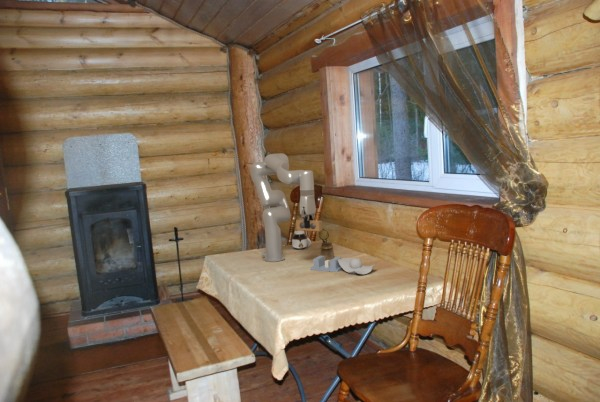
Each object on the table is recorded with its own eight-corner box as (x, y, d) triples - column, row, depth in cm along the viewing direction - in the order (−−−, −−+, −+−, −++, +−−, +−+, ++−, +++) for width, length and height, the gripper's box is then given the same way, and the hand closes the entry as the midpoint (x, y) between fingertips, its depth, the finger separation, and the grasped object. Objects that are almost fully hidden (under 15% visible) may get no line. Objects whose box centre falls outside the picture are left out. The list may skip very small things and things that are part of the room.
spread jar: (291, 250, 312) (290, 232, 310) (294, 246, 323) (293, 229, 322) (309, 249, 310) (308, 232, 308) (312, 246, 321) (311, 229, 319)
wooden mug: (331, 257, 285) (330, 228, 283) (337, 262, 271) (335, 231, 269) (316, 259, 283) (315, 229, 281) (322, 264, 270) (320, 233, 268)
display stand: (310, 269, 259) (310, 259, 258) (318, 265, 268) (318, 255, 267) (337, 272, 251) (337, 261, 251) (344, 267, 260) (344, 256, 259)
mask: (355, 277, 240) (379, 275, 246) (356, 263, 239) (380, 261, 246) (334, 269, 257) (357, 267, 264) (335, 255, 257) (357, 253, 263)
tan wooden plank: (296, 229, 258) (295, 220, 258) (299, 228, 261) (299, 219, 261) (319, 231, 251) (318, 221, 251) (322, 230, 254) (322, 220, 254)
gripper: (308, 192, 263) (310, 224, 265) (293, 195, 249) (295, 229, 251) (320, 191, 260) (322, 225, 261) (305, 195, 245) (307, 230, 247)
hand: (309, 226), depth 256 cm, fingers closed on tan wooden plank, 3 cm apart
